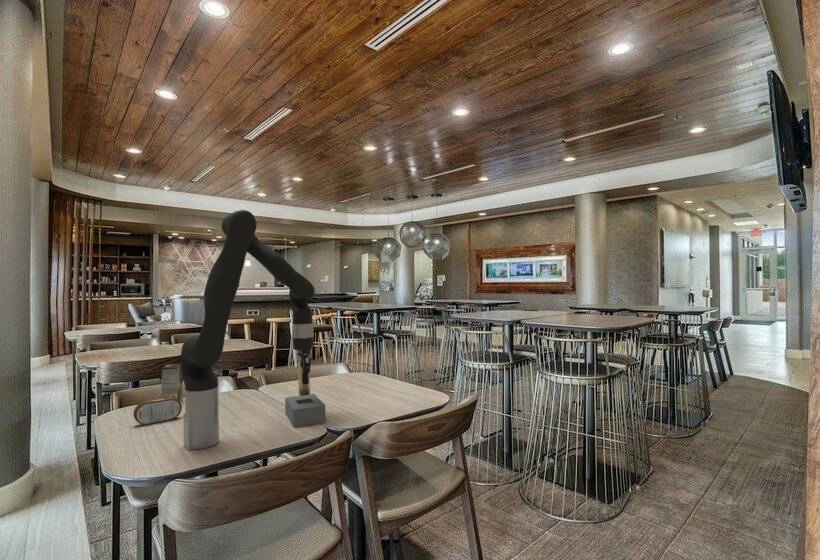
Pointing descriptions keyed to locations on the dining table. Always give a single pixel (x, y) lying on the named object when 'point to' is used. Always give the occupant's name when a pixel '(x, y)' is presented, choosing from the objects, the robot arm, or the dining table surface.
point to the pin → (303, 388)
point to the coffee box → (172, 381)
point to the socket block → (305, 410)
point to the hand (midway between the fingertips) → (304, 382)
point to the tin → (157, 410)
